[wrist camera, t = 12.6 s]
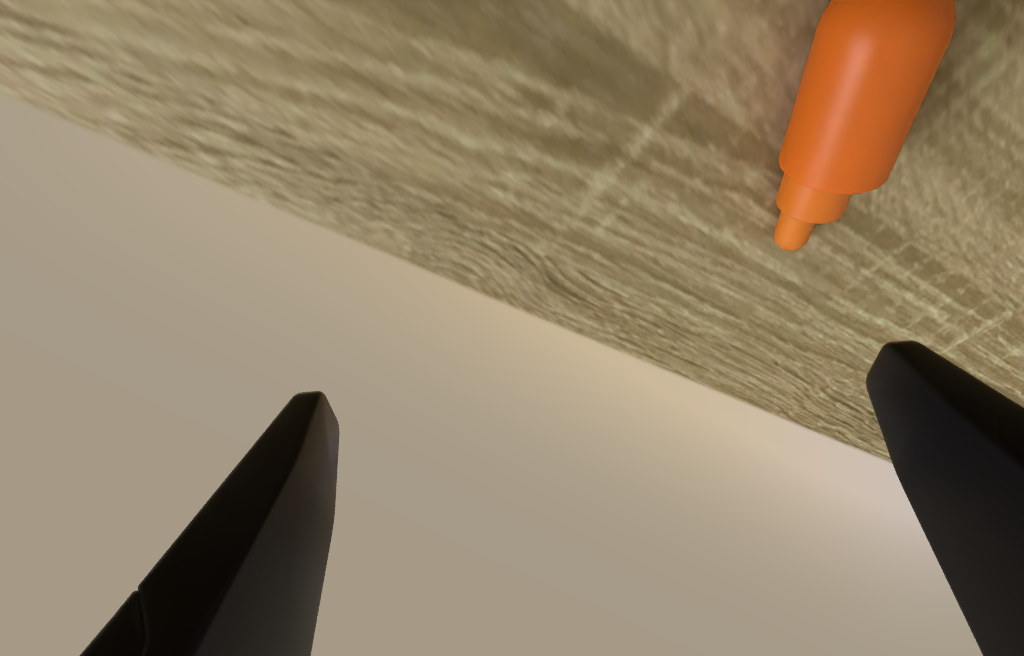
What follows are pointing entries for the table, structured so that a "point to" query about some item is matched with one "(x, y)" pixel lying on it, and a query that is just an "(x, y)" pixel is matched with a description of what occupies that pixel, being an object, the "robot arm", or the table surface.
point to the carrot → (856, 105)
